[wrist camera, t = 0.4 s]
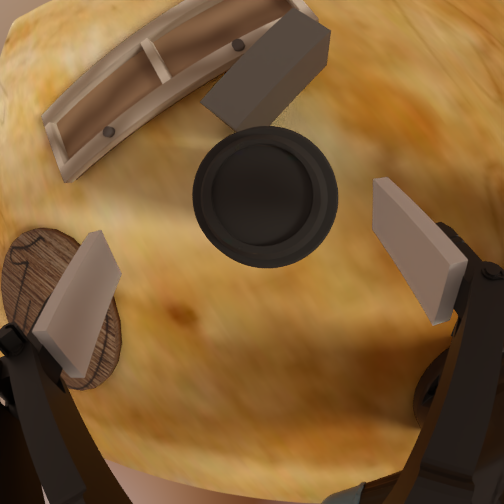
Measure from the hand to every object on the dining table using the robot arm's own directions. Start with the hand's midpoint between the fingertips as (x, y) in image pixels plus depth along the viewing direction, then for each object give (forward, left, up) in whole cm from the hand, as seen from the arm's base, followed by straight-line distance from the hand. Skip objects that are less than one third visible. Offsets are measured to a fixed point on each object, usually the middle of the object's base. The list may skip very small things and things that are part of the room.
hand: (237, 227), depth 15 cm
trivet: (+3, +35, -19) cm, 40 cm away
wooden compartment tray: (+21, +3, -18) cm, 28 cm away
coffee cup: (+1, -1, -18) cm, 18 cm away
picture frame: (+11, -6, -18) cm, 22 cm away
